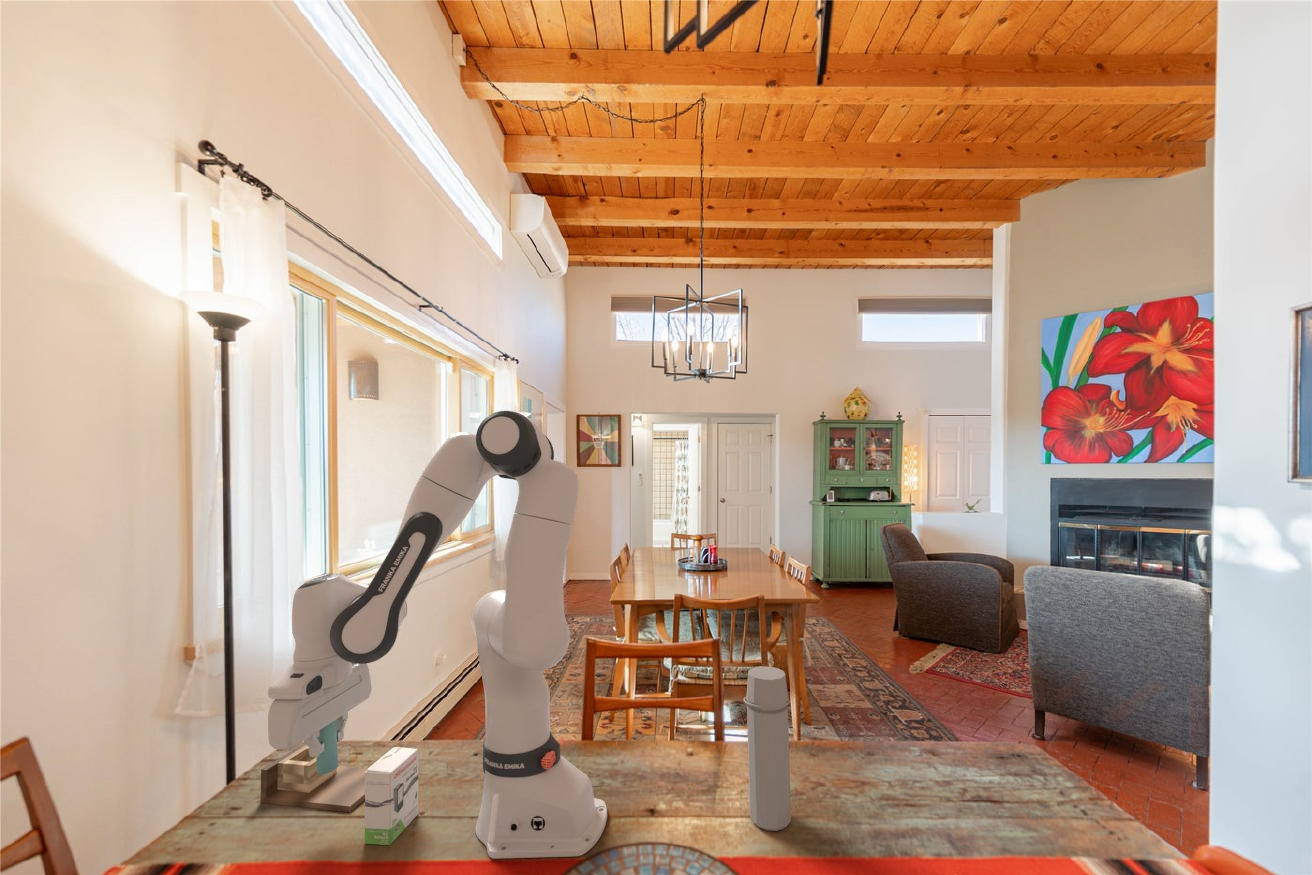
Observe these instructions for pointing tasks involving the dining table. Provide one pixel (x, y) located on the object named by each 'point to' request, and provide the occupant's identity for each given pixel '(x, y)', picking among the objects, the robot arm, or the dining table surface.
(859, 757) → the dining table surface
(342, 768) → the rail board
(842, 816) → the dining table surface
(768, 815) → the water bottle
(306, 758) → the wooden square socket
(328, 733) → the dowel
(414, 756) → the ink box
